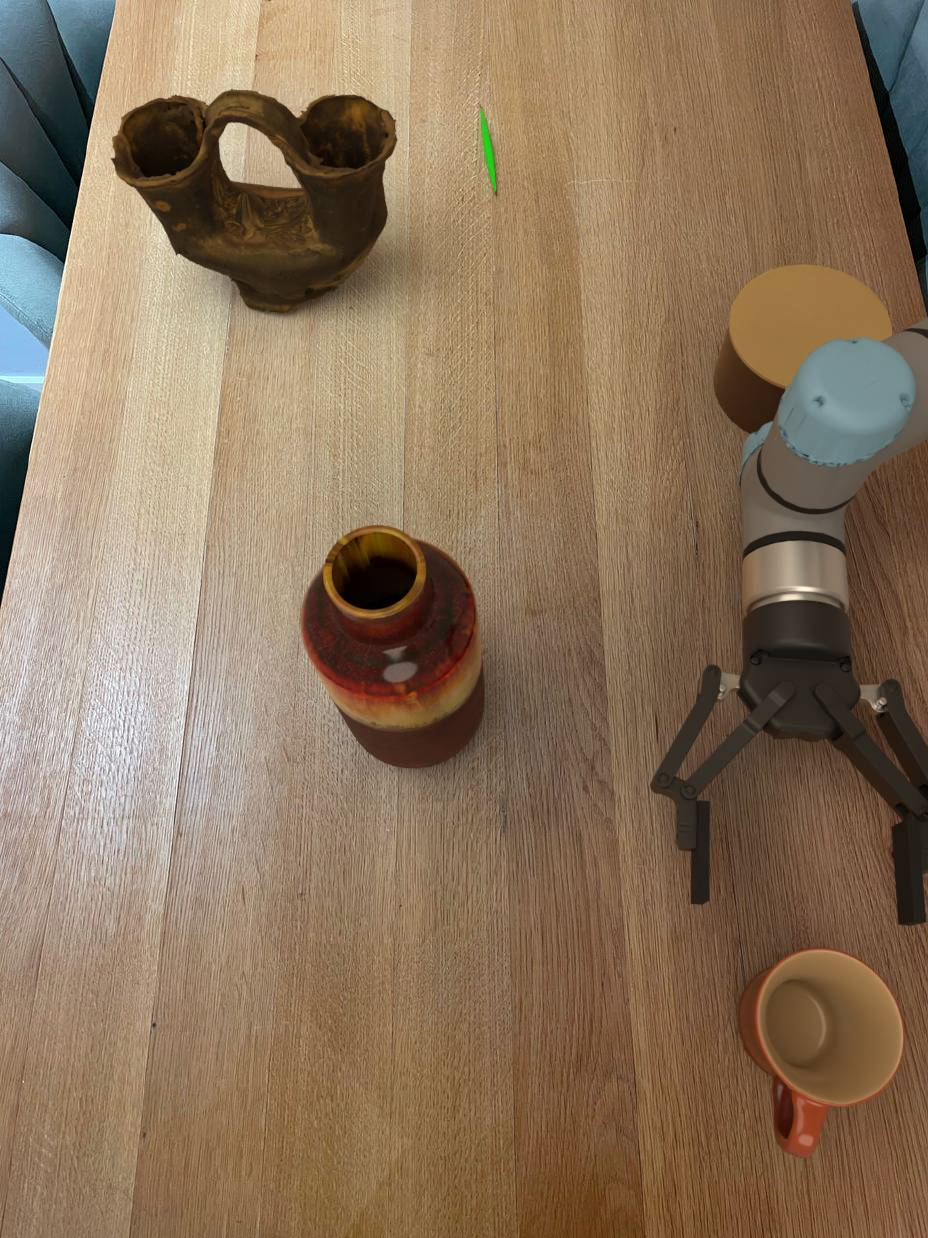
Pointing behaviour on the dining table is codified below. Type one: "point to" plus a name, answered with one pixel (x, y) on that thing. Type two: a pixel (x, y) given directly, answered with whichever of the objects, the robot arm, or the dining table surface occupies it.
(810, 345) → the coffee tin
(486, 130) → the leaf
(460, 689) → the vase
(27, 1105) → the dining table surface
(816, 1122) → the mug
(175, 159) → the pottery vessel
